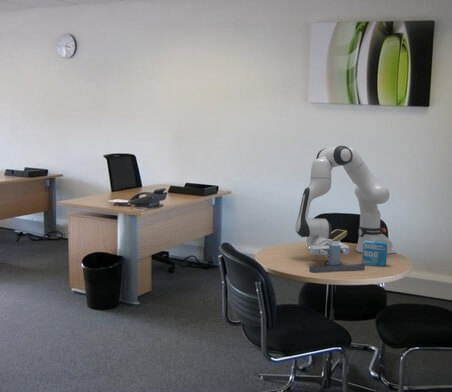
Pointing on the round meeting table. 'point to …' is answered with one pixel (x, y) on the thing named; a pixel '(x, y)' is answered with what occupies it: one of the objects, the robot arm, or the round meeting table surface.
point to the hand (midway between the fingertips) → (335, 253)
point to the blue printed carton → (374, 253)
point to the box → (338, 235)
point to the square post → (334, 254)
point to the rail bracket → (336, 267)
